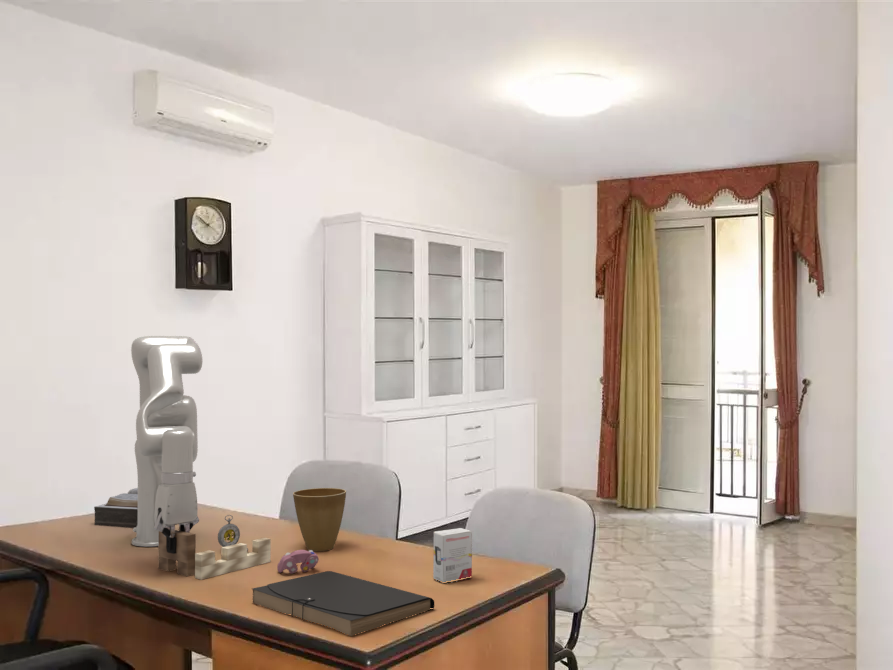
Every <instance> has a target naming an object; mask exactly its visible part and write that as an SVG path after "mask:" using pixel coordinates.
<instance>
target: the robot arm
mask: <svg viewBox="0 0 893 670" xmlns="http://www.w3.org/2000/svg"><path fill="white" fill-rule="evenodd" d="M130 348H131V349H130V351H131V360H132V363H133V366H134V370H135V372H136V374H137V377H138V381H139V382H138V383H139V410H138V412H137V415H136V419H135V432H136V434H135V435H136V440H135V442H134V454H135V462H136V470H137V471H136V472H137V473H136V474H137V488H138V526H137V528H136V527H135V528H132V532H133V533H136V534H135V535H136V536H135V537H134V538H132V539H131V545H133V546H136V547H147V548H149V547H150V548H151V547H159V531H161V532H162V533H163V534H164V536H165V537H166V549H167V552H168V553H172V554H175V553H176V537H174V536H175V530H176V526H177V525H178V531H183V532H188V533H191V532H190V531H191V530H192V528H193V527H194V526H195V525H197V524H198V523H199V522H200V519H199V516H198V497H197V488H196V483H195V482H193V481H194V477H196V476H197V473H196V471H193V469H194V466H193V464H194V462H195V461H196V460H197V457H198V451H199V449H198V447H199V446H198V442H199V441H198V408H197V403H196V401H195V399H194V398H193V397H192V396H190V395H184V393H185V392H184V389H185V388H184V385H183V384H184V382H183V375H193V374H195V375H197V374H198V373H200V371H201V370H202V367H203V353H202V351H201V348H200V346H199V344H198V343H197V342H196V341H195V340H194V338H193V337H192V336H184V335H183V336H181V335H179V336H178V335H177V336H176V335H171V336H169V335H147V336H145V335H144V336H141V337H137V338H135V339H134V340H133V341H132V343H131V347H130Z"/></svg>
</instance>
